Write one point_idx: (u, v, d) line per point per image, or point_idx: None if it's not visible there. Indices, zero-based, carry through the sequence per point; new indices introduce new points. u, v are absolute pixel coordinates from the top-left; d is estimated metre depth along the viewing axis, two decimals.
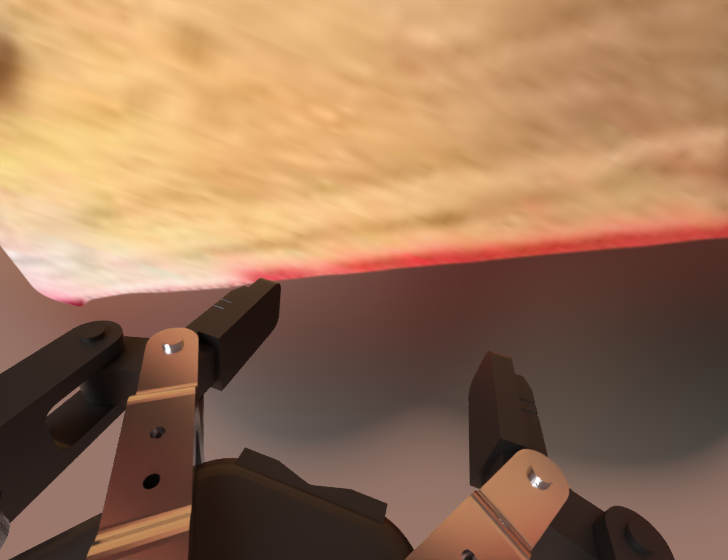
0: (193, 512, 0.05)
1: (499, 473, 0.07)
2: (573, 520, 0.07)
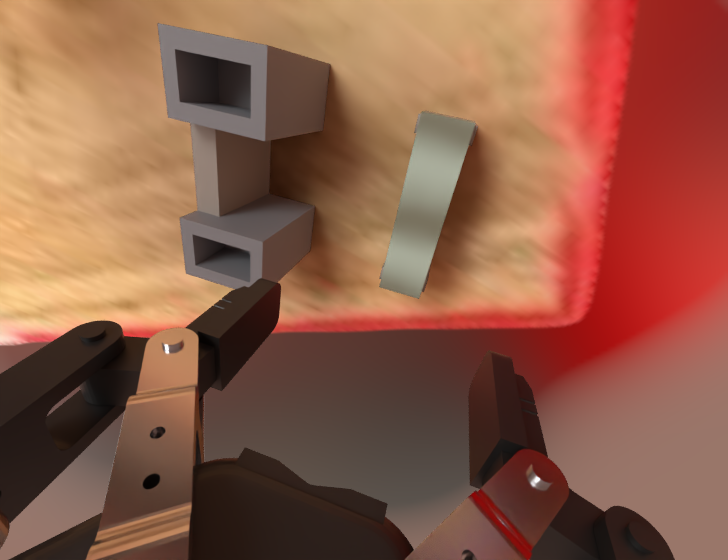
0: (193, 512, 0.05)
1: (499, 473, 0.07)
2: (573, 520, 0.07)
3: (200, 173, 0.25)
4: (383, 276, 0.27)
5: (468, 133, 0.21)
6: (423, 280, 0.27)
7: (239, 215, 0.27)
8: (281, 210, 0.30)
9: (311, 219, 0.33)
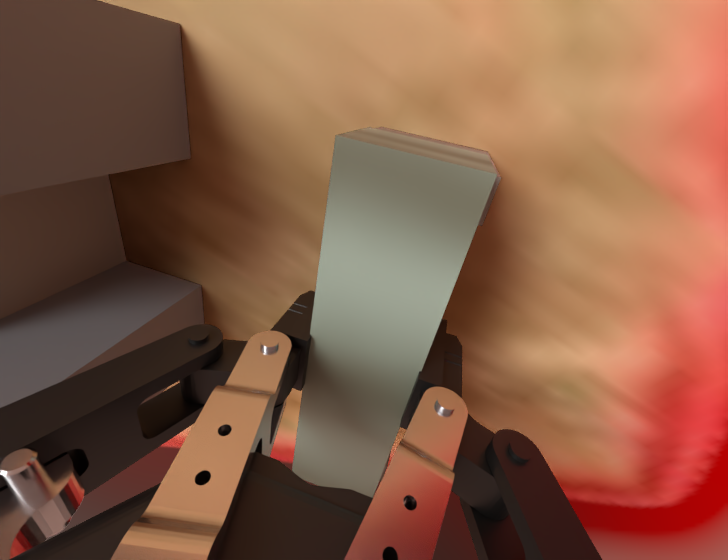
0: (226, 527, 0.05)
1: (415, 417, 0.08)
2: (470, 442, 0.08)
3: None
4: (296, 461, 0.13)
5: (474, 201, 0.07)
6: (375, 481, 0.13)
7: (2, 334, 0.13)
8: (121, 305, 0.16)
9: (196, 308, 0.19)
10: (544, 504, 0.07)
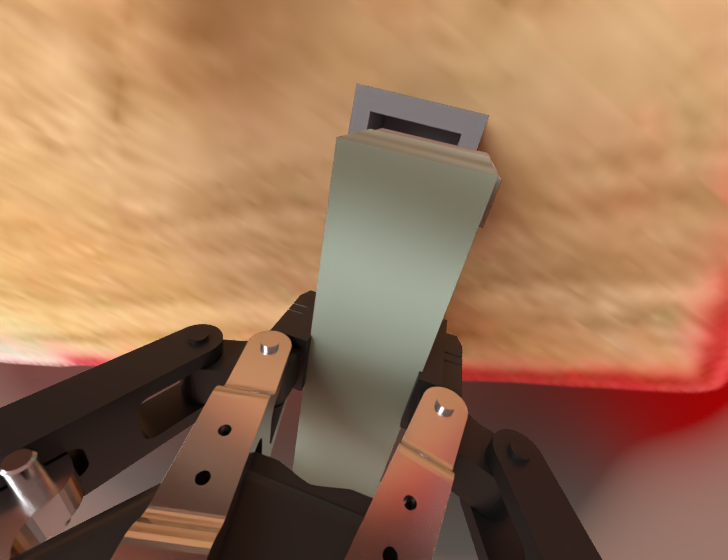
0: (226, 527, 0.05)
1: (415, 417, 0.08)
2: (470, 442, 0.08)
3: None
4: (297, 462, 0.13)
5: (475, 204, 0.07)
6: (375, 482, 0.13)
7: None
8: None
9: None
10: (544, 504, 0.07)
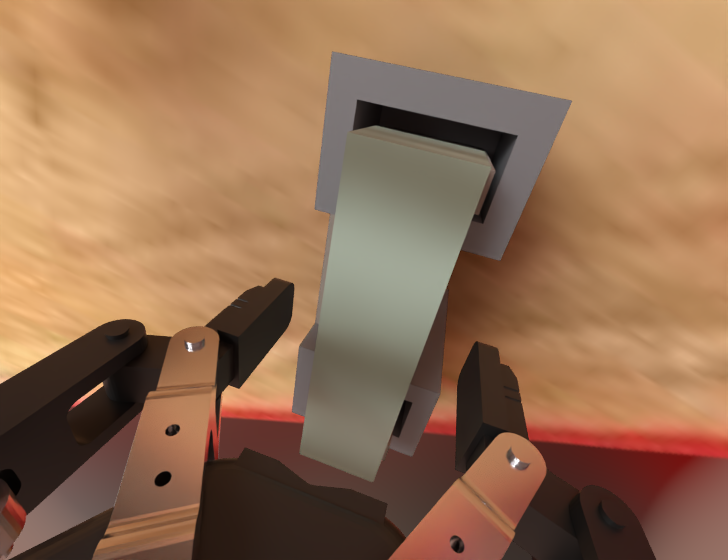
0: (201, 514, 0.05)
1: (481, 458, 0.07)
2: (550, 499, 0.07)
3: None
4: (304, 440, 0.14)
5: (471, 191, 0.08)
6: (379, 458, 0.13)
7: None
8: None
9: None
10: None
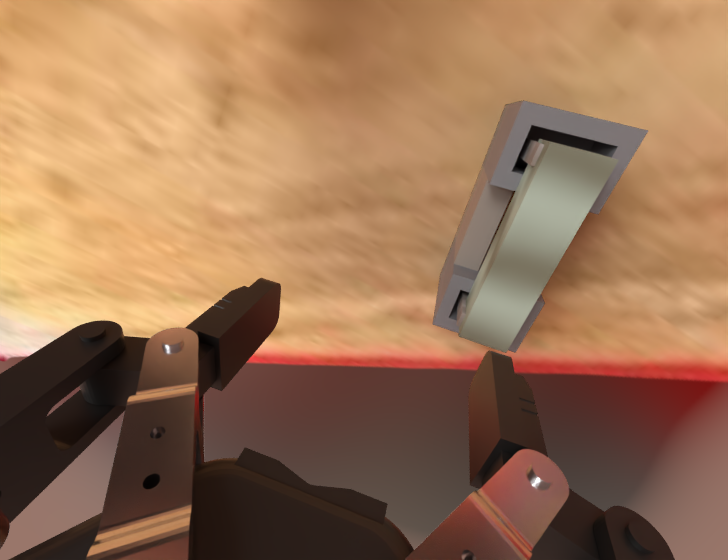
0: (193, 512, 0.05)
1: (499, 473, 0.07)
2: (573, 520, 0.07)
3: (474, 230, 0.25)
4: (466, 325, 0.24)
5: (606, 171, 0.17)
6: (515, 333, 0.23)
7: None
8: None
9: None
10: None
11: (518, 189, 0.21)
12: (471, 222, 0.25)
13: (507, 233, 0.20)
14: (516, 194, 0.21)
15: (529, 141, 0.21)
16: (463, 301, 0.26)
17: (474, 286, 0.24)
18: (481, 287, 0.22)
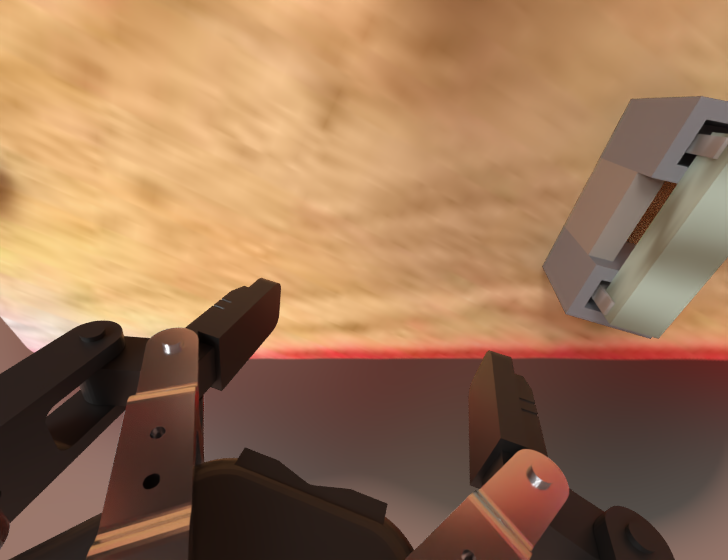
0: (193, 512, 0.05)
1: (499, 473, 0.07)
2: (573, 520, 0.07)
3: (615, 222, 0.26)
4: (620, 313, 0.25)
5: None
6: (672, 319, 0.24)
7: (619, 258, 0.29)
8: (627, 250, 0.31)
9: None
10: None
11: (685, 181, 0.22)
12: (613, 214, 0.26)
13: (682, 224, 0.21)
14: (683, 186, 0.22)
15: None
16: (604, 291, 0.27)
17: (621, 276, 0.26)
18: (643, 276, 0.23)
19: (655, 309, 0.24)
